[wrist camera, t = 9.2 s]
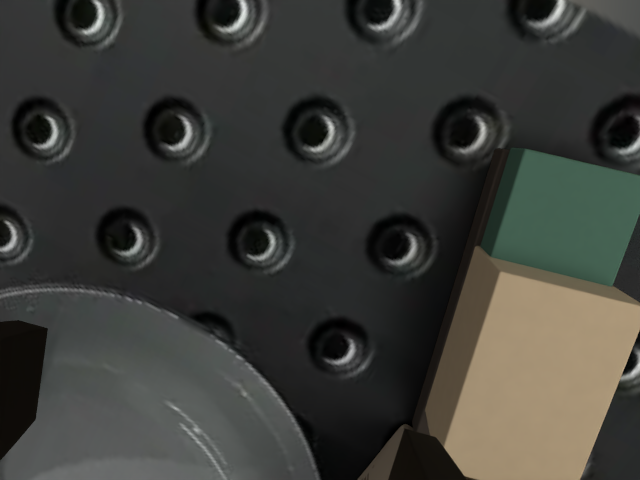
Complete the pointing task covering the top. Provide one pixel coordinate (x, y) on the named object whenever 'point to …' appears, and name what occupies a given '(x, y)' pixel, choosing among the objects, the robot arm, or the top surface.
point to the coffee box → (386, 458)
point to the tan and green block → (534, 320)
